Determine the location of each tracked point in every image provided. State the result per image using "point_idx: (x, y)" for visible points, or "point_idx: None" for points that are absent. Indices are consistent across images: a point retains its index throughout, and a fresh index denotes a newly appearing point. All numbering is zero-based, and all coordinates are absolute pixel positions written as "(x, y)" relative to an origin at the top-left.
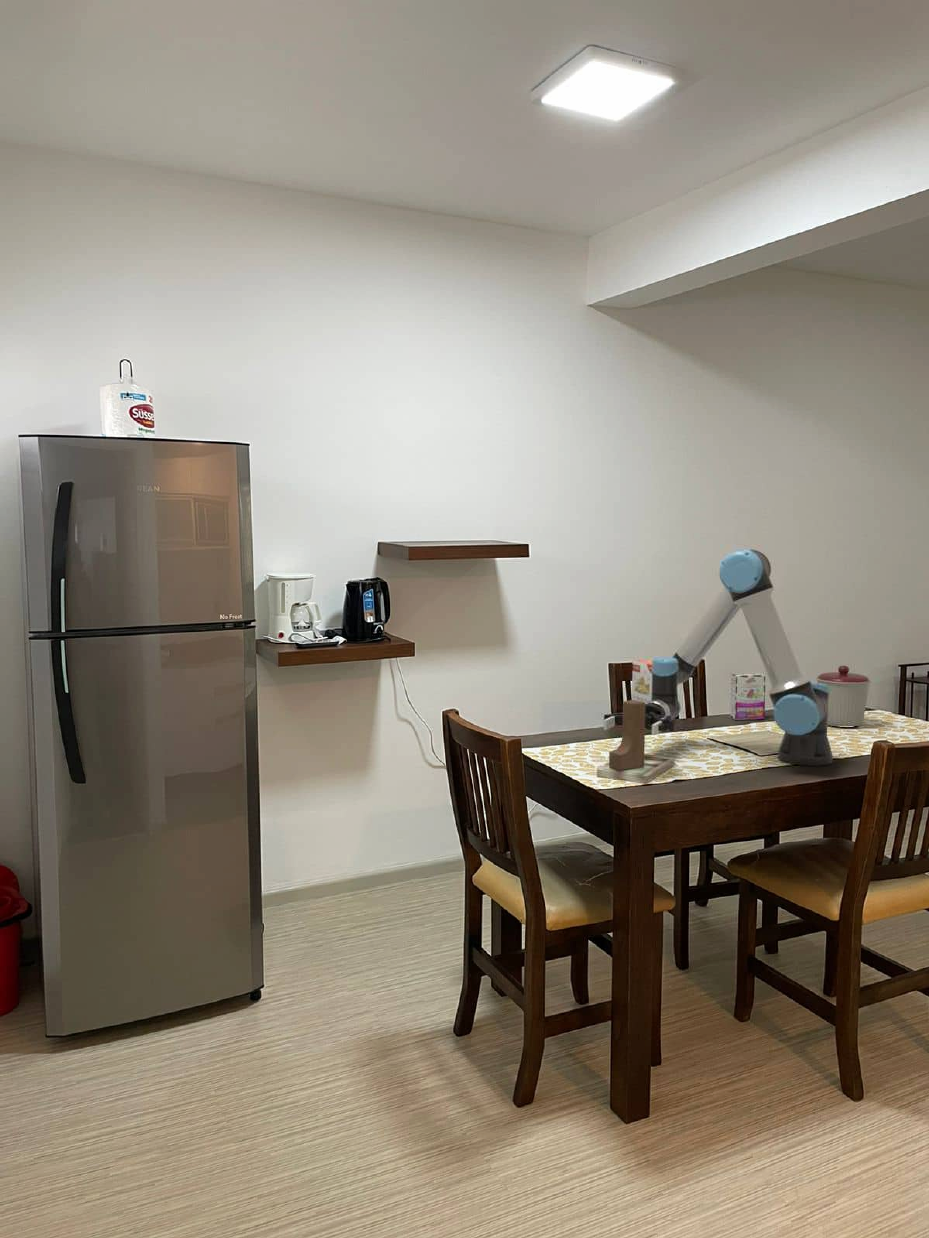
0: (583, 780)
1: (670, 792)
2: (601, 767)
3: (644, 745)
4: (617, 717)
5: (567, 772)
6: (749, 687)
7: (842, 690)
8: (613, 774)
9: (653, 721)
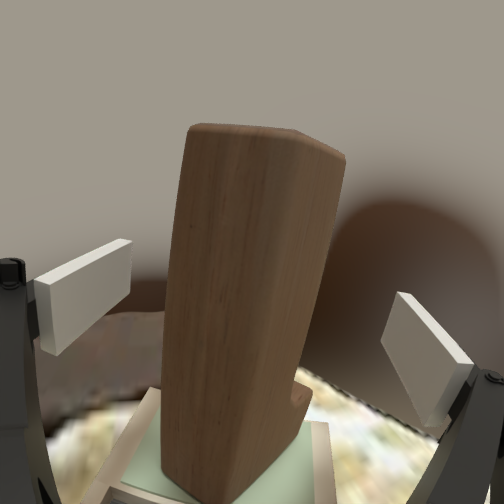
0: (331, 399)
1: (94, 347)
2: (327, 445)
3: (161, 400)
4: (466, 405)
5: (412, 443)
6: None
7: None
8: None
9: (48, 486)
